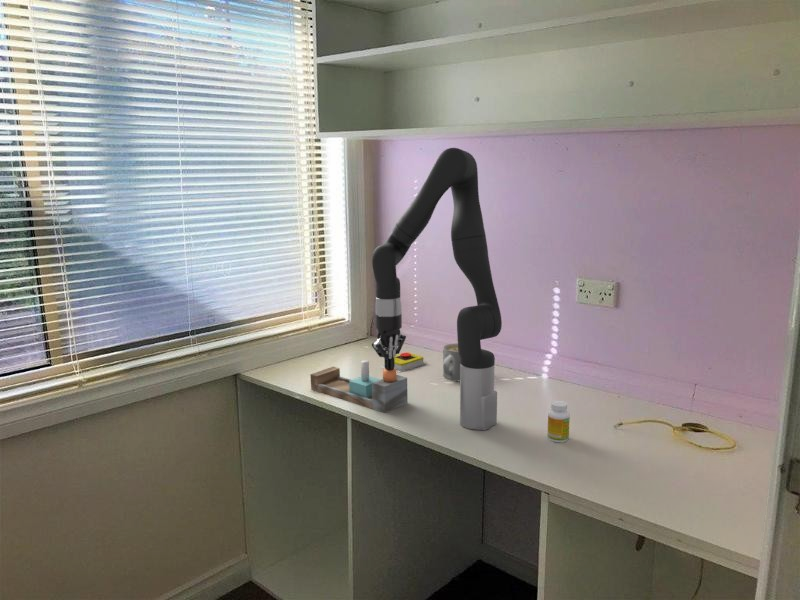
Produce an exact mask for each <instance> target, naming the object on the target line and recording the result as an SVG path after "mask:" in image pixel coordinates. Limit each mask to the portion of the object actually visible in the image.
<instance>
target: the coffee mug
mask: <svg viewBox="0 0 800 600" xmlns="http://www.w3.org/2000/svg"><path fill="white" fill-rule="evenodd" d="M442 350H443V351H442V352H443V353H442V355H443V357H442V365H443V366H442V369H443V370H442V377H443V376H444V377H445V378H444V377H443V378H444V379H446V378H447V379H446V380H449V379H450V380H449V381H454V380H460V356H459V352H458V342H454V343H448V344H446V345H443V348H442Z"/></svg>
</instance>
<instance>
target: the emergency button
mask: <svg viewBox="0 0 800 600" xmlns="http://www.w3.org/2000/svg"><path fill="white" fill-rule="evenodd" d="M394 359H395V363H394V364H395V366H394V368H395V369H396V372H397V373H396V374H398V372H399V373H401V372H405V370H406V371H408V369H409V370H412V369H414V367H415V368H418V367H420V366H424V365H427V362H425V361H424V356H422V355H420V354H419V355H418V354H415V353H410V352H402V353H399V354H396V356H395V357H394ZM417 366H418V367H417ZM384 368H385V364H384V365H381V366H380V369H382V370H383V369H384ZM411 368H412V369H411Z"/></svg>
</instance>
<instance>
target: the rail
mask: <svg viewBox="0 0 800 600" xmlns="http://www.w3.org/2000/svg"><path fill="white" fill-rule="evenodd" d="M340 369H341V368H339V367H336V366H330V367H328V368H325V369H322V370H319V371H316V372H313V373H310V375H309V376H310V389H311V390H312V389H313V391H315V390H316V391H315V392H319V393H322V394H325V395H327V396H328V395H329V396H330V397H331V396H332V397H334V398H337V399H341V400H344V401H347V402H350V403H353V404H356V405H359V406H363V407H366V408H370V409H372V410H376V411H378V412H382V413H385V414H386V413H388V412H390V411H393V410H395V409H397V408H399V407H402V406H404V405H406V404H408V403H409V401H408V400H409V399H408V377H406V376H402V375H399V374H396V375H397V380H396V381H392V382H387V381H384V380H383V378H380V379H381V380H378V381H376V382H373V383H372V396H371V397H369V398H365V397H362V396H359V395H356V394H352V393H350V391H349V381H350V380H351V379H350V378H346V377H344V376H341V374H340V373H341V371H340Z"/></svg>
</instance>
